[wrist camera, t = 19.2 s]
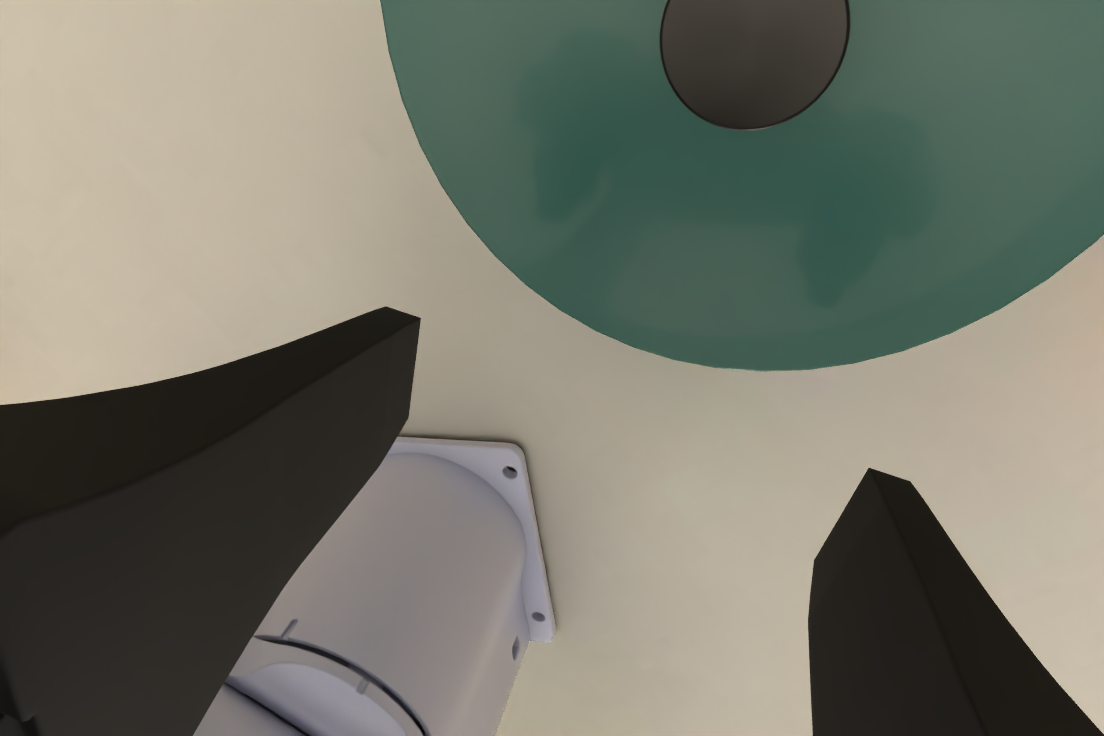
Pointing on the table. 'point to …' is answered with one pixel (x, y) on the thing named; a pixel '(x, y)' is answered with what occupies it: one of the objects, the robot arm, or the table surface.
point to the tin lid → (765, 161)
